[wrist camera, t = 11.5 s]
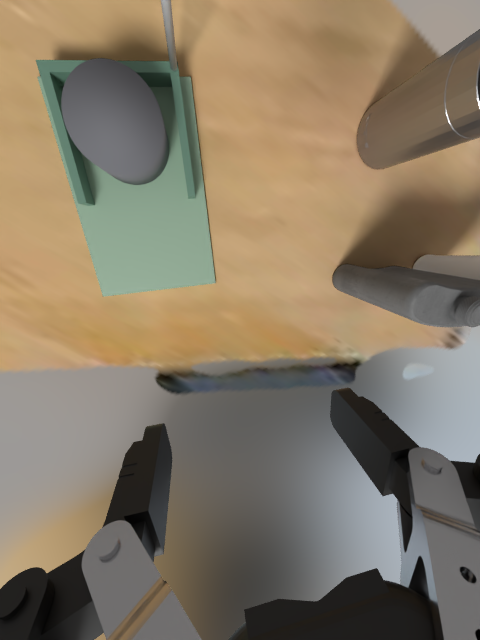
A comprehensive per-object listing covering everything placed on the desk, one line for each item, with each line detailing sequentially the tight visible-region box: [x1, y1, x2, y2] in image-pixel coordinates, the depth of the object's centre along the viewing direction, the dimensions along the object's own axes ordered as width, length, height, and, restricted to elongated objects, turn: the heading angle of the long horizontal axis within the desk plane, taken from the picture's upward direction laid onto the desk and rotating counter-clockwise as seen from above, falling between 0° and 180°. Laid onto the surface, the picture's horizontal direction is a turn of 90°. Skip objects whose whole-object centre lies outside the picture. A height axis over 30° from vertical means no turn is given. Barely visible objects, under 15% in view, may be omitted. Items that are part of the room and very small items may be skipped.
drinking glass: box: [412, 254, 480, 280], centre depth 40 cm, size 7×7×15 cm
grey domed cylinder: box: [61, 58, 169, 185], centre depth 29 cm, size 10×10×7 cm
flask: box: [333, 264, 480, 327], centre depth 37 cm, size 15×6×20 cm, turn 88°
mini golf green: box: [36, 0, 215, 296], centre depth 24 cm, size 18×27×22 cm, turn 6°
